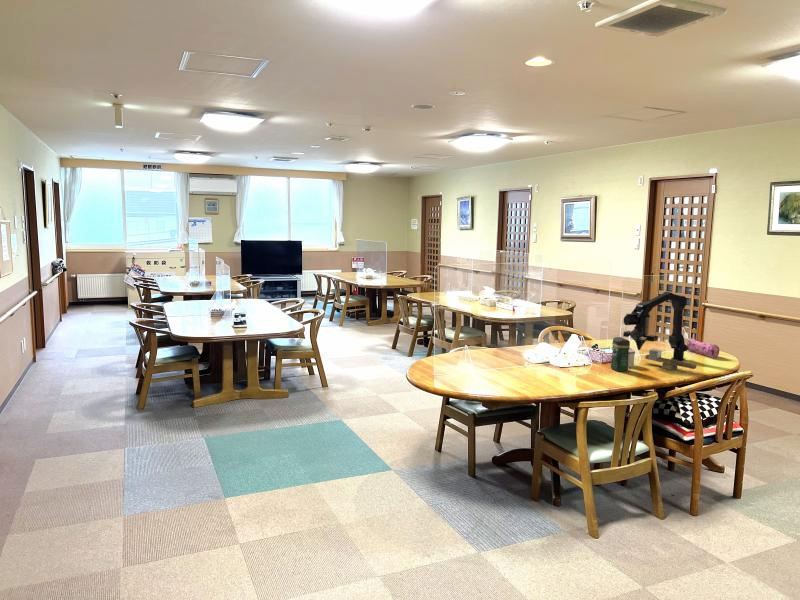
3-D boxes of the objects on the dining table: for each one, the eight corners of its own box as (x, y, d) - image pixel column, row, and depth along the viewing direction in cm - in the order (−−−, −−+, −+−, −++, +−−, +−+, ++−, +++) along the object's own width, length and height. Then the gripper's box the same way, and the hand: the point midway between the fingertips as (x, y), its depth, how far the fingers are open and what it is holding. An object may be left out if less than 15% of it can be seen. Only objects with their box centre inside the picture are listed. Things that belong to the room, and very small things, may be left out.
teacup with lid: (625, 362, 352) (627, 343, 350) (637, 366, 344) (639, 346, 342) (610, 364, 347) (611, 345, 345) (621, 368, 339) (623, 348, 337)
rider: (652, 357, 350) (653, 348, 349) (661, 359, 346) (661, 350, 345) (648, 359, 346) (649, 349, 345) (656, 361, 343) (657, 351, 342)
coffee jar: (630, 371, 332) (632, 339, 329) (617, 372, 330) (619, 340, 327) (620, 367, 341) (623, 335, 338) (608, 367, 340) (610, 336, 337)
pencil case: (683, 351, 383) (684, 337, 382) (694, 350, 386) (696, 337, 385) (709, 359, 363) (710, 345, 362) (721, 358, 366) (722, 344, 364)
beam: (648, 362, 353) (649, 354, 352) (696, 372, 332) (697, 364, 331) (643, 364, 348) (644, 355, 348) (692, 374, 328) (693, 365, 327)
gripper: (619, 323, 352) (617, 349, 355) (649, 328, 338) (647, 355, 341) (628, 321, 360) (626, 346, 362) (658, 326, 346) (656, 352, 348)
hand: (639, 350), depth 353 cm, fingers closed
